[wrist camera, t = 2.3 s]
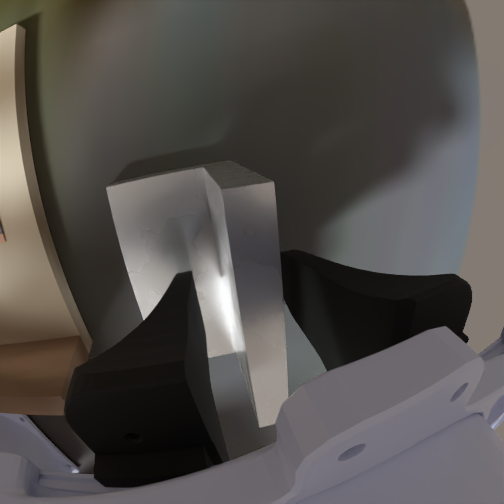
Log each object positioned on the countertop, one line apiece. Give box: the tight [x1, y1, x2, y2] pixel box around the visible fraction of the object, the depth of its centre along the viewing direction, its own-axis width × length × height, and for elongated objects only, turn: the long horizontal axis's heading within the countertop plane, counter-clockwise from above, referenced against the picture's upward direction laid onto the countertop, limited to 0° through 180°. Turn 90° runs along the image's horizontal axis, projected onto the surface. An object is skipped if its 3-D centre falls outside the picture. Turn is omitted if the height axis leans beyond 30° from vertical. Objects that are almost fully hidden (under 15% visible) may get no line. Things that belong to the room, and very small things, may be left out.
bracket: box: [106, 160, 288, 428], centre depth 11 cm, size 9×5×6 cm, turn 6°
